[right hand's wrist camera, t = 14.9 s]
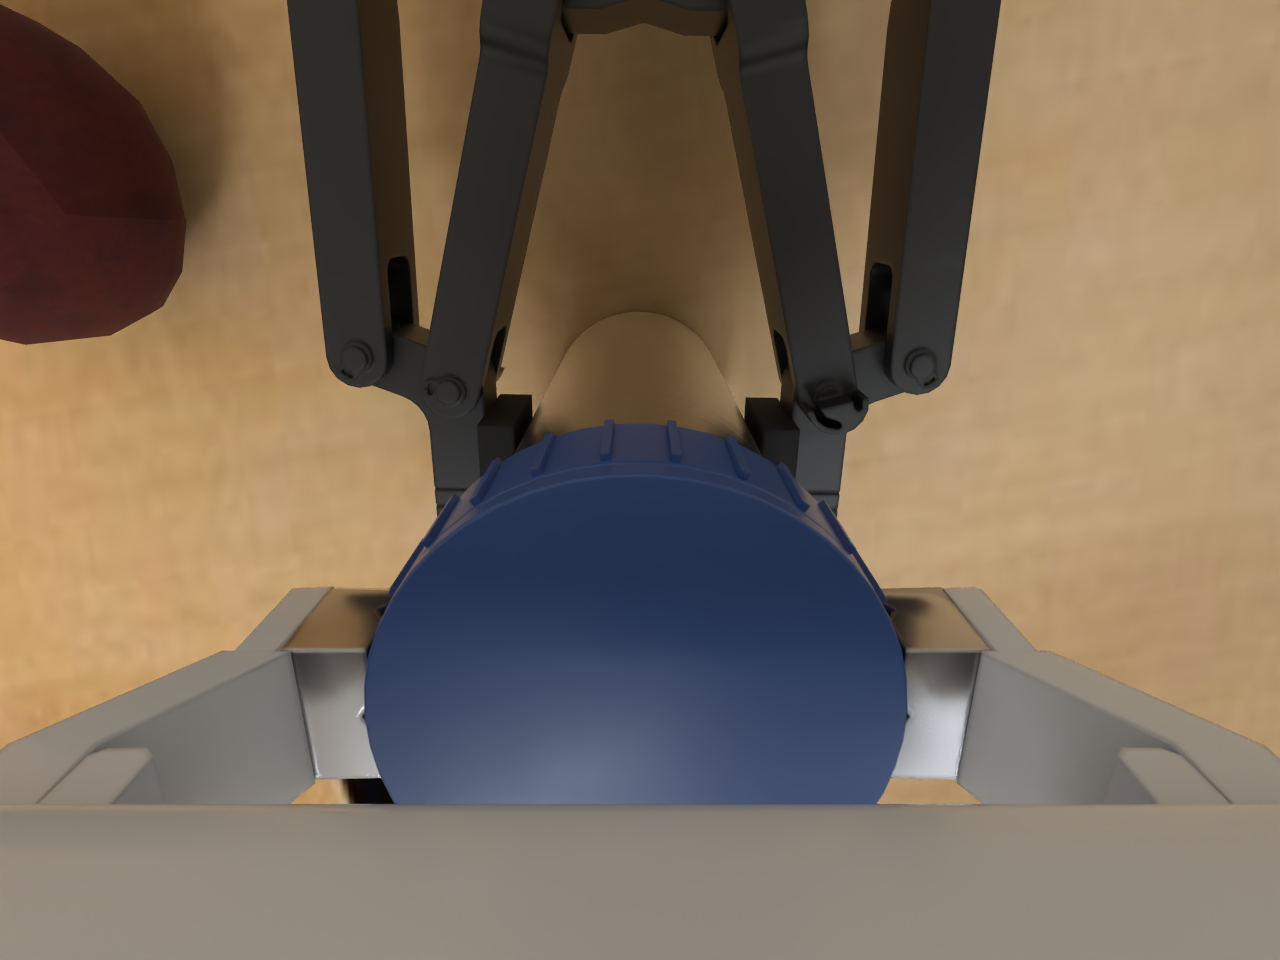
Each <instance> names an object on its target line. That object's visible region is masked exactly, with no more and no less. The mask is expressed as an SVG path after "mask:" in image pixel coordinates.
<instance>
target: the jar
mask: <svg viewBox="0 0 1280 960" xmlns="http://www.w3.org/2000/svg"><path fill="white" fill-rule="evenodd" d="M608 419H614V424H638V423H650V424H659V425H667V421H668V420H672V421H676V423H677V427H683V428H687V429H691V430H696V431H700V432H704V433H708V434H712V435H715V436H718V437H720V438H723V439H725V440H726V437H727V435H731V436H734V437H736V439H737V442H738V444H739V445H741V446H743V447H745V448H747V449H749V450H751V451H752V452H754V453H756V454H758V455H760V456H762V455H761V453H760V451H759V449H758V447H757V445H756V443H755V441H754V439H753V436H752V434H751V432H750V430H749V428H748V426H747V424H746V422H745V420H744V418H743V416H742V414H741V412H740V410H739V408H738V406H737V404H736V402H735V400H734V398H733V396H732V394H731V392H730V390H729V388H728V386H727V384H726V382H725V380H724V378H723V376H722V374H721V372H720V370H719V367H718V365H717V363H716V361H715V359H714V357H713V356H712V354H711V352H710V350H709V349H708V347H707V346H706V345H705V343H704V342H703V341H702V340H701V339H700V338H699V337H698V336H697V335H696V334H695V333H694V332H693V331H692V330H691V329H689V328H688V327H687V326H685V325H684V324H682V323H680V322H678V321H676V320H674V319H672V318H670V317H667V316H664V315H660V314H656V313H651V312H627V313H620V314H617V315H613V316H610V317H607V318H605V319H603V320H601V321H599V322H597V323H595V324H594V325H592V326H590V327H589V328H588V329H587V330H585V331H584V332H583V333H582V334H581V335H580V336H579V337H578V338H577V339H576V340H575V341H574V342H573V343H572V345H571V346H570V348H569V349H568V350H567V352H566V354H565V356H564V358H563V360H562V362H561V364H560V366H559V368H558V370H557V372H556V373H555V375H554V377H553V379H552V381H551V383H550V385H549V387H548V389H547V391H546V393H545V395H544V397H543V399H542V401H541V403H540V405H539V407H538V409H537V411H536V412H535V414H534V416H533V418H532V420H531V422H530V424H529V426H528V428H527V430H526V432H525V434H524V436H523V438H522V440H521V442H520V444H519V446H518V448H517V450H516V451H515V453H514V454H516V453H518V452H519V451H521V450H523V449H525V448H528V447H530V446H532V445H535V444H537V443H539V442H542V440H543V437H544V435H545V434H546V433H549V432H553V433H554V435H555V436H558V435H562V434H565V433H569V432H572V431H576V430H580V429H583V428H590V427H597V426H604V423H605V420H608Z"/></svg>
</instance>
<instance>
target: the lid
mask: <svg viewBox="0 0 1280 960" xmlns="http://www.w3.org/2000/svg"><path fill="white" fill-rule="evenodd" d="M388 594H389V595H391V596H392V598H391V600H390V602H389V604H388V606H387V608H386V610H385V612H384V614H383V616H382V618H381V620H380V622H379V624H378V626H377V630H376V633H375V636H374V639H373V642H372V646H371V649H370V652H369V655H368V661H367V668H366V675H365V682H364V714H365V722H366V728H367V733H368V739H369V744H370V748H371V751H372V754H373V757H374V760H375V763H376V766H377V769H378V772H379V775H380V777H381V779H382V780H383V782H384V784H385V786H386V788H387V790H388V792H389V794H390V796H391V798H392V800H393V801H394V803H395V804H877V802H878V801H879V799H880V798H881V796H882V795H883V793H884V791H885V789H886V786H887V784H888V782H889V780H890V778H891V776H892V773H893V771H894V769H895V767H896V763H897V760H898V757H899V753H900V750H901V746H902V743H903V739H904V732H905V725H906V717H907V709H908V702H907V676H906V671H905V666H904V661H903V655H902V650H901V646H900V644H899V641H898V638H897V635H896V633H895V630H894V627H893V624H892V622H891V619H890V617H889V615H888V613H887V612H886V610H885V608H884V606H883V603H885V602H887V599H886V597H885V595H884V593H883V591H882V590H881V588H880V587H879V585H878V584H877V582H876V580H875V579H874V577H873V576H872V574H871V572H870V571H869V569H868V568H867V566H866V565H865V563H864V561H863V560H862V558H861V557H860V555H859V554H858V552H857V550H856V548H855V546H854V545H853V543H852V542H851V540H850V538H849V537H848V535H847V534H846V532H845V531H844V529H843V527H842V526H841V524H840V523H839V521H838V520H837V518H836V516H835V515H834V513H833V512H832V510H831V509H830V507H829V505H828V504H827V503H826V502H825V500H823V501H821V502H820V503H818V502H817V501H816V500H815V499H814V498H813V497H812V496H811V495H810V494H809V493H808V492H807V491H806V490H805V489H804V488H803V487H802V486H801V485H800V484H799V483H798V482H797V481H796V480H795V479H794V477H793V475H792V473H791V472H790V470H789V468H788V466H787V465H785V464H784V463H782V462H781V463H780V464H779V465H778V466H776V465H775V464H773V463H772V462H771V461H769V460H767V459H765V458H763V457H762V456H760V455H758V454H756V453H754V452H752V451H751V450H749V449H747V448H745V447H743V446H741V445H739V444H738V442H737V439H736V437H734V436H731V435H727V437H726V440H725V439H723V438H720V437H718V436H715V435H712V434H708V433H704V432H700V431H696V430H691V429H687V428H683V427H677V423H676V421H672V420H668V421H667V425H659V424H650V423H638V424H614V419H608V420H605V423H604V426H597V427H590V428H583V429H580V430H576V431H572V432H569V433H565V434H562V435H558V436H555V435H554V433H553V432H549V433H546V434H545V435H544V437H543V440H542V442H539V443H537V444H535V445H532V446H530V447H528V448H525V449H523V450H521V451H519V452H518V453H516V454H514V455H513V456H511V457H509V458H508V459H506V460H504V461H501V460H500V459H499V458H496V459H495V460H493V461H492V462H491V464H490V465H489V467H488V469H487V470H486V472H485V474H484V475H483V476H482V477H481V478H479V479H478V480H477V481H476V482H474V483H473V484H472V485H471V486H470V487H469V488H468V489H467V490H466V491H465V492H464V493H463V494H462V495H461V497H460V498H459V497H458V496H457V495H455V494H453V495H452V497H451V498H450V499H449V500H448V502H447V503H446V505H445V506H444V508H443V509H442V511H441V512H440V514H439V516H438V517H437V519H436V520H435V522H434V523H433V525H432V526H431V528H430V529H429V531H428V532H427V534H426V535H425V537H424V538H423V539H422V540H421V542H420V543H419V545H418V546H417V548H416V549H415V551H414V552H413V554H412V555H411V557H410V558H409V560H408V562H407V563H406V565H405V566H404V568H403V569H402V571H401V572H400V574H399V575H398V577H397V578H396V580H395V581H394V583H393V584H392V586H391V588H390V590H389V592H388Z"/></svg>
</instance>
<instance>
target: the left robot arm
mask: <svg viewBox="0 0 1280 960" xmlns="http://www.w3.org/2000/svg"><path fill="white" fill-rule="evenodd" d="M1000 4H1001V0H892V1H891V7H890V14H889V21H888V28H887V37H886V48H885V59H884V69H883V80H882V91H881V101H880V112H879V123H878V133H877V144H876V155H875V166H874V176H873V187H872V198H871V208H870V219H869V230H868V241H867V251H866V262H865V273H864V283H863V294H862V305H861V316H860V326H859V332H858V333H855V334H852V335H850V334H849V328H848V321H847V315H846V308H845V302H844V295H843V289H842V282H841V276H840V269H839V263H838V256H837V250H836V243H835V237H834V230H833V224H832V217H831V211H830V205H829V198H828V192H827V185H826V179H825V172H824V166H823V159H822V153H821V146H820V140H819V133H818V127H817V120H816V114H815V107H814V101H813V94H812V88H811V82H810V75H809V69H808V61H807V47H808V38H809V31H808V16H807V8H806V2H805V0H483V3H482V9H481V17H480V45H481V47H480V58H479V64H478V70H477V75H476V80H475V86H474V91H473V97H472V102H471V108H470V113H469V119H468V124H467V129H466V135H465V140H464V146H463V151H462V157H461V162H460V168H459V173H458V179H457V184H456V189H455V195H454V200H453V206H452V211H451V217H450V222H449V228H448V233H447V238H446V244H445V249H444V255H443V260H442V266H441V271H440V277H439V282H438V287H437V293H436V298H435V304H434V309H433V315H432V320H431V326H430V330H429V329H426V328H423V327H420V326H419V313H418V298H417V283H416V267H415V252H414V237H413V222H412V207H411V191H410V176H409V161H408V146H407V131H406V115H405V100H404V85H403V70H402V55H401V39H400V24H399V14H398V6H397V0H287V5H288V14H289V23H290V32H291V41H292V50H293V59H294V68H295V77H296V86H297V96H298V105H299V114H300V123H301V132H302V141H303V150H304V159H305V168H306V177H307V186H308V195H309V204H310V213H311V222H312V231H313V240H314V249H315V258H316V267H317V276H318V285H319V294H320V303H321V312H322V321H323V331H324V340H325V349H326V357H327V361H328V364H329V367H330V369H331V371H332V372H333V373H334V374H335V376H336V377H337V378H338V379H339V380H341V381H342V382H344V383H345V384H347V385H350V386H354V387H359V388H360V387H367V386H371V385H373V386H376V387H379V388H381V389H384V390H387V391H390V392H393V393H395V394H398V395H401V396H403V397H405V398H407V399H409V400H411V401H412V402H414V403H415V404H416V405H417V406H418V407H419V408H420V409H421V410H422V412H423V413H424V415H425V417H426V419H427V421H428V425H429V429H430V439H431V450H432V462H433V473H434V484H435V496H436V504H437V517H438V516H439V514H440V512H441V511H442V509H443V508H444V506H445V505H446V503H447V502H448V500H449V499H450V498H451V497H452V495H453V494H455V495H457V496H458V497H459V498H460V497H461V495H462V494H463V493H464V492H465V491H466V490H467V489H468V488H469V487H470V486H471V485H472V484H473V483H474V482H476V481H477V480H478V479H479V478H481V477H482V476H483V475H484V474H485V472H486V470H487V469H488V467H489V465H490V464H491V462H492V461H493V460H495V459H496V458H499V459H500V460H501V461H504V460H506V459H508V458H509V457H511V456H513V455H514V453H515V451H516V450H517V448H518V446H519V444H520V442H521V440H522V438H523V436H524V434H525V432H526V430H527V428H528V426H529V424H530V422H531V420H532V418H533V417H532V395H515V394H500V395H499V397H498V398H497V392H496V381H497V380H498V379H499V378H500V377H501V375H502V373H503V370H504V367H501V364H502V359H503V355H504V350H505V345H506V341H507V336H508V332H509V327H510V323H511V318H512V314H513V309H514V305H515V300H516V296H517V291H518V286H519V282H520V277H521V273H522V268H523V264H524V259H525V255H526V250H527V246H528V241H529V237H530V232H531V228H532V223H533V218H534V214H535V209H536V205H537V200H538V196H539V191H540V187H541V182H542V178H543V173H544V169H545V164H546V159H547V155H548V150H549V146H550V141H551V137H552V132H553V128H554V123H555V119H556V114H557V110H558V105H559V101H560V96H561V93H562V90H563V87H564V85H565V83H566V80H567V77H568V73H569V69H570V65H571V60H572V56H573V51H574V47H575V42H576V38H577V34H606V33H610V32H613V31H617V30H620V29H624V28H627V27H630V26H634V25H637V24H641V23H647V24H650V25H653V26H656V27H659V28H662V29H665V30H669V31H672V32H675V33H678V34H681V35H693V36H710V38H711V43H712V48H713V53H714V58H715V64H716V69H717V73H718V78H719V81H720V85H721V87H722V90H723V92H724V95H725V99H726V104H727V109H728V115H729V120H730V125H731V130H732V135H733V141H734V146H735V151H736V156H737V162H738V167H739V172H740V177H741V182H742V188H743V193H744V198H745V203H746V209H747V214H748V219H749V224H750V229H751V235H752V240H753V245H754V250H755V256H756V261H757V266H758V271H759V276H760V282H761V287H762V292H763V297H764V303H765V308H766V313H767V318H768V324H769V329H770V334H771V339H772V344H773V350H774V355H775V360H776V365H777V371H778V376H779V379H780V382H781V384H782V386H781V398H780V401H779V400H778V399H777V398H746V402H745V418H744V420H745V422H746V424H747V426H748V428H749V430H750V432H751V434H752V436H753V439H754V441H755V443H756V445H757V447H758V449H759V451H760V453H761V455H762V457H763V458H765V459H767V460H769V461H771V462H772V463H773V464H775V465H776V466H778V465H779V464H780V463H781V462H782V463H784V464H785V465H787V466H788V468H789V470H790V472H791V473H792V475H793V477H794V479H795V480H796V481H797V482H798V483H799V484H800V485H801V486H802V487H803V488H804V489H805V490H806V491H807V492H808V493H809V494H810V495H811V496H812V497H813V498H814V499H815V500H816V501H817V502H818V503H820V502H821V501H823V500H825V502H826V503H827V504H828V505H829V507H830V509H831V510H832V512H833V513H834V515H835V516H836V518H837V508H838V502H839V491H840V485H841V476H842V467H843V459H844V450H845V441H846V434H847V432H849V431H851V430H854V429H855V428H856V427H857V426H858V425H859V424H860V423H861V422H862V421H863V420H864V417H865V415H866V413H867V411H868V405H869V404H871V403H873V402H876V401H879V400H882V399H885V398H888V397H891V396H894V395H897V394H900V393H903V392H906V393H910V394H916V395H919V394H924V393H929V392H930V391H932V390H934V389H935V388H937V387H938V386H940V384H941V383H942V382H943V381H944V379H945V378H946V377H947V374H948V371H949V368H950V366H951V359H952V351H953V344H954V337H955V330H956V322H957V315H958V308H959V301H960V293H961V286H962V279H963V272H964V264H965V257H966V250H967V243H968V236H969V228H970V221H971V214H972V207H973V199H974V192H975V185H976V178H977V170H978V163H979V156H980V149H981V142H982V134H983V127H984V120H985V113H986V105H987V98H988V91H989V84H990V76H991V69H992V62H993V55H994V47H995V40H996V33H997V26H998V19H999V11H1000Z"/></svg>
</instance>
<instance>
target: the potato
mask: <svg viewBox="0 0 1280 960" xmlns="http://www.w3.org/2000/svg"><path fill="white" fill-rule="evenodd" d="M185 229H186V221H185V216H184V212H183V208H182V203H181V199H180V194H179V190H178V186H177V181H176V177H175V173H174V168H173V164H172V160H171V158H170V156H169V155H168V153H167V151H166V149H165V147H164V146H163V144H162V142H161V140H160V138H159V136H158V135H157V133H156V131H155V129H154V127H153V125H152V124H151V122H150V120H149V118H148V116H147V115H146V113H145V111H144V109H143V107H142V105H141V104H140V102H139V101H138V100H137V99H136V98H135V97H134V96H132V95H131V94H130V93H129V92H128V91H127V90H126V89H125V88H124V87H123V86H122V85H120V84H119V83H118V82H117V81H116V80H115V79H114V78H113V77H112V76H111V75H109V74H108V73H107V72H106V71H105V70H104V69H103V68H102V67H101V66H100V65H99V64H97V63H96V62H95V61H94V60H93V59H92V58H91V57H90V56H89V55H87V54H86V53H85V52H84V51H83V50H82V49H81V48H80V47H78V46H76V45H75V44H73V43H71V42H70V41H68V40H66V39H65V38H63V37H61V36H60V35H58V34H56V33H55V32H53V31H51V30H50V29H48V28H46V27H45V26H43V25H41V24H40V23H38V22H36V21H34V20H32V19H30V18H28V17H26V16H24V15H21V14H19V13H17V12H15V11H13V10H11V9H9V8H7V7H4V6H2V5H0V339H2V340H6V341H11V342H16V343H20V344H25V345H27V344H36V343H45V342H54V341H63V340H72V339H82V338H91V337H100V336H109V335H112V334H114V333H116V332H117V331H119V330H121V329H123V328H125V327H127V326H129V325H130V324H132V323H134V322H136V321H138V320H140V319H141V318H143V317H145V316H147V315H149V314H151V313H152V312H154V311H156V310H157V309H159V308H161V307H162V306H163V305H164V303H165V302H166V300H167V298H168V296H169V294H170V292H171V291H172V289H173V287H174V285H175V283H176V282H177V280H178V278H179V276H180V274H181V273H182V266H183V254H184V242H185Z"/></svg>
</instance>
